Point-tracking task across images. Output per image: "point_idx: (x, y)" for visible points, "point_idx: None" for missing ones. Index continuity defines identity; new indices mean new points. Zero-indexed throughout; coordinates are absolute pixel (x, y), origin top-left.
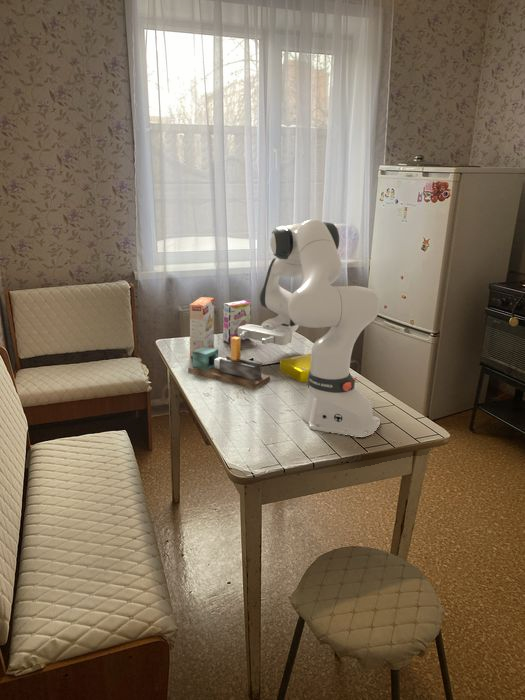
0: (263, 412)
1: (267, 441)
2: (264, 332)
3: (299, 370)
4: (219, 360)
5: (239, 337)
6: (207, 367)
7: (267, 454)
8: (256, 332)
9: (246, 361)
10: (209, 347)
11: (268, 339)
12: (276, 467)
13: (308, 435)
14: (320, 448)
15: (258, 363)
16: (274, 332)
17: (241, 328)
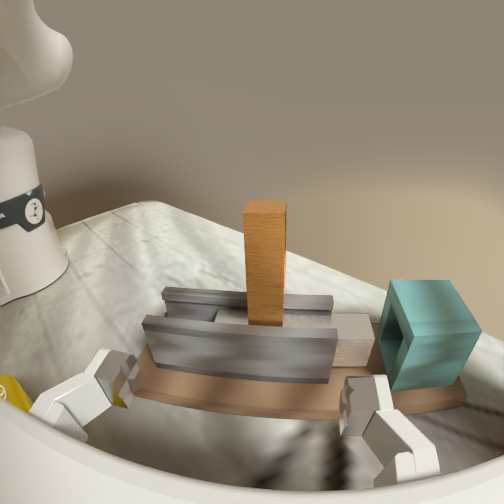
0: (132, 259)
1: (124, 224)
2: (116, 464)
3: (14, 381)
4: (342, 314)
5: (249, 212)
6: (379, 330)
7: (124, 215)
8: (245, 489)
9: (215, 325)
10: (457, 331)
11: (81, 380)
12: (115, 209)
13: (72, 242)
14: (66, 233)
15: (153, 316)
16: (9, 471)
17: (489, 463)
